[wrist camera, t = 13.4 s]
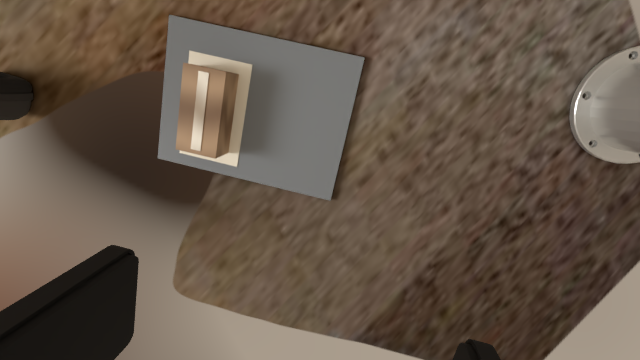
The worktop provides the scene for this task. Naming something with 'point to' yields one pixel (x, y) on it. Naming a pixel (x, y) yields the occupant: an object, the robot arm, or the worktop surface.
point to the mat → (266, 105)
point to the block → (206, 110)
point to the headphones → (14, 97)
